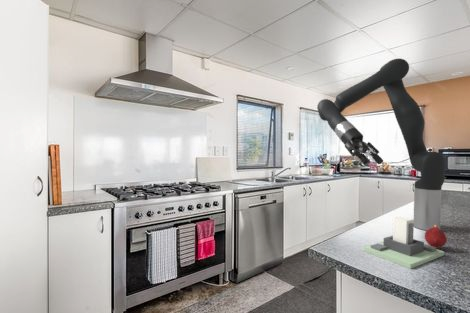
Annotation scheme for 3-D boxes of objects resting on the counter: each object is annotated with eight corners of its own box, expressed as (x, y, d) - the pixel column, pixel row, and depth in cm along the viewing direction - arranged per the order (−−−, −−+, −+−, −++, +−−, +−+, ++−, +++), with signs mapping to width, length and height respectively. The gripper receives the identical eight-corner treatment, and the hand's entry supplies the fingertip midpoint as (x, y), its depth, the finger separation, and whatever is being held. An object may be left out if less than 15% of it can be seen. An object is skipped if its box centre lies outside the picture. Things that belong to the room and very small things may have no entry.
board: (397, 240, 90) (397, 229, 90) (444, 255, 78) (444, 242, 78) (363, 250, 81) (363, 238, 81) (410, 268, 68) (410, 253, 68)
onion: (450, 252, 80) (451, 228, 80) (430, 251, 81) (431, 227, 81) (439, 246, 86) (440, 223, 86) (420, 244, 87) (421, 222, 87)
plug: (399, 246, 82) (400, 216, 82) (415, 251, 78) (415, 219, 78) (392, 248, 80) (393, 217, 80) (407, 253, 76) (408, 221, 76)
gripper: (342, 126, 96) (369, 156, 86) (365, 128, 103) (392, 156, 93) (331, 140, 101) (355, 169, 91) (353, 141, 108) (378, 169, 98)
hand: (374, 162), depth 92 cm, fingers open, 8 cm apart
